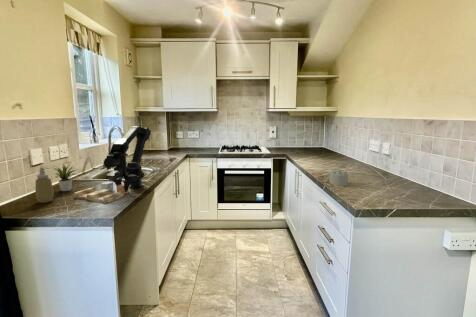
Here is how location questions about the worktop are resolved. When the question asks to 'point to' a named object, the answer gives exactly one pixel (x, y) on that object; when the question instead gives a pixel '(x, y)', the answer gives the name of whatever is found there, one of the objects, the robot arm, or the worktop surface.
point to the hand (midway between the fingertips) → (122, 191)
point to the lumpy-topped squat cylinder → (339, 178)
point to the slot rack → (98, 195)
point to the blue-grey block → (107, 185)
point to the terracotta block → (121, 188)
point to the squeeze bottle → (44, 187)
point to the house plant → (65, 178)
